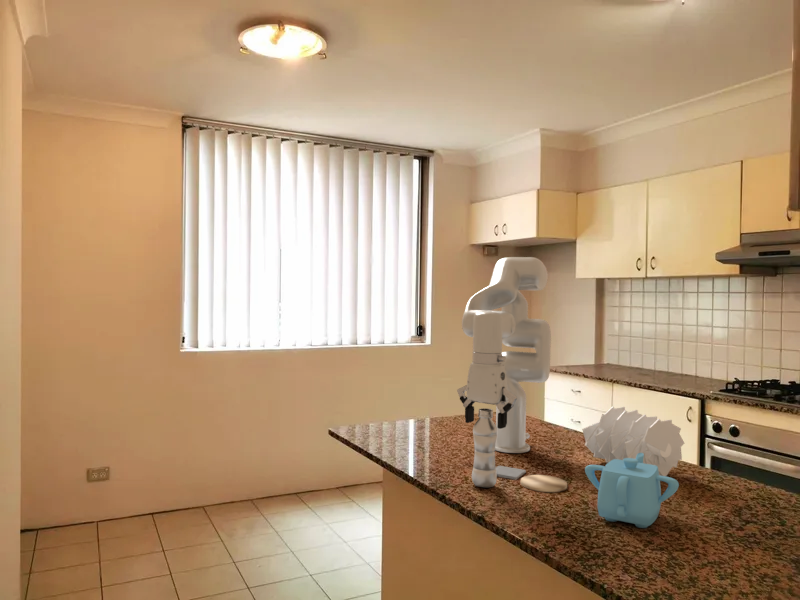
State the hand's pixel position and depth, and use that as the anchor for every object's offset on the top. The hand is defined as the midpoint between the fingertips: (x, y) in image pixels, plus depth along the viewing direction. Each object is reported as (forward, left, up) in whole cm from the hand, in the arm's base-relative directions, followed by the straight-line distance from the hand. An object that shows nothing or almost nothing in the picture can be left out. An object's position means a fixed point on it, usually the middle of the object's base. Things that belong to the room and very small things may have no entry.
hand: (485, 424), depth 157 cm
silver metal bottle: (0, 0, -16) cm, 16 cm away
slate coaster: (-14, -1, -16) cm, 21 cm away
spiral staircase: (-42, +24, -16) cm, 51 cm away
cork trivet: (-12, +11, -16) cm, 23 cm away
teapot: (-5, +36, -16) cm, 40 cm away
